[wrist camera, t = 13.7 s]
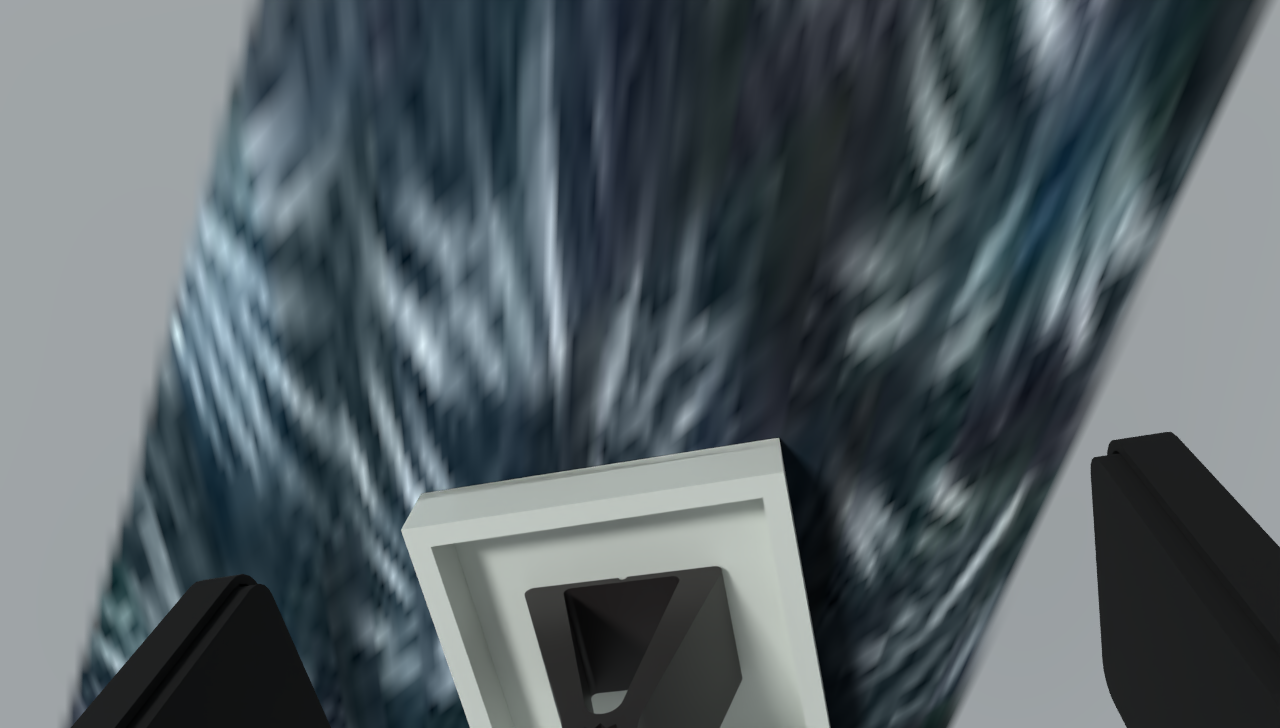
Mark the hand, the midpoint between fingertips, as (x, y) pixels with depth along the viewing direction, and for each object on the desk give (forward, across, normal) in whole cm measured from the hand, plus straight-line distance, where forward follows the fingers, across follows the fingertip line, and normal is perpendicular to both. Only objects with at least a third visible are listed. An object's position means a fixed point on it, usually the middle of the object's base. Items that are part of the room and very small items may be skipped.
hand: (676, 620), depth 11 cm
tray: (+28, +8, +21) cm, 35 cm away
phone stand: (+27, +8, +20) cm, 35 cm away
